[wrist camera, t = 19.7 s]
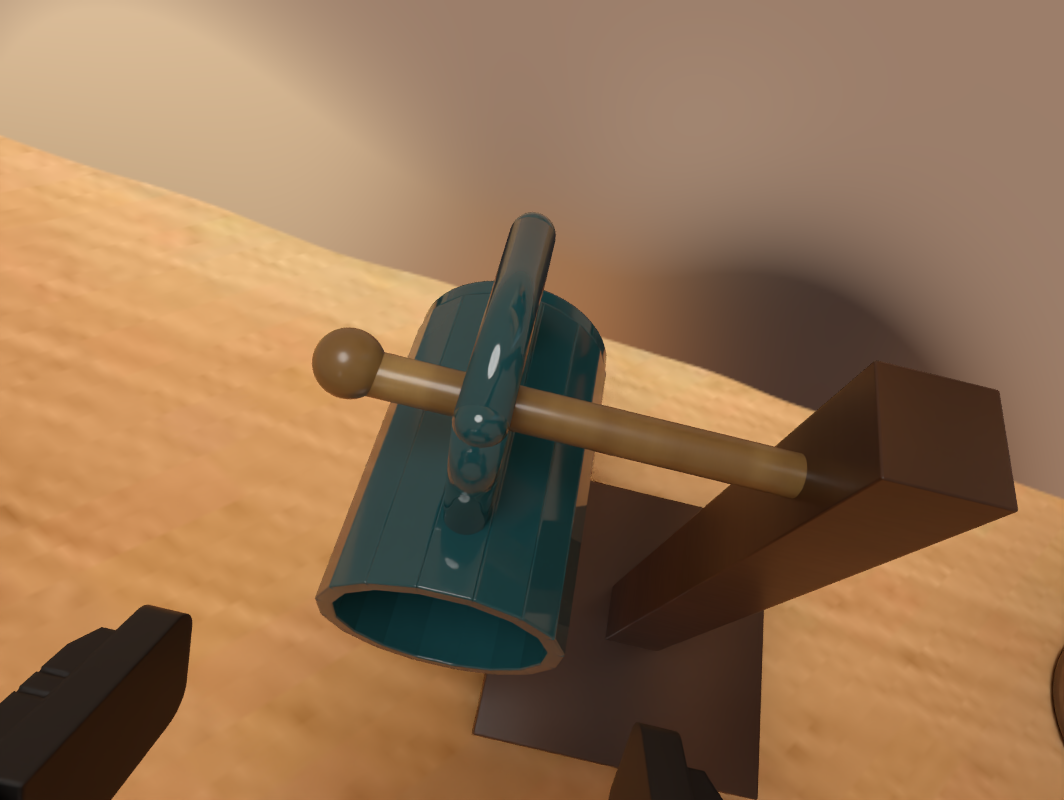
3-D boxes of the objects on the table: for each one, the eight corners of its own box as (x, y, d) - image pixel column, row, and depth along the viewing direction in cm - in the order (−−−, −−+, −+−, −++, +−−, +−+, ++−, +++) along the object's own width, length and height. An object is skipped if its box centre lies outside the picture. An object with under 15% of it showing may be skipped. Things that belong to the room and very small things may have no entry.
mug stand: (754, 531, 34) (1180, 254, 14) (742, 797, 28) (1415, 931, 9) (418, 450, 34) (392, 56, 14) (339, 703, 28) (114, 628, 8)
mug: (583, 421, 26) (540, 689, 20) (421, 382, 26) (329, 640, 20) (677, 186, 17) (648, 548, 11) (428, 125, 17) (263, 457, 11)
